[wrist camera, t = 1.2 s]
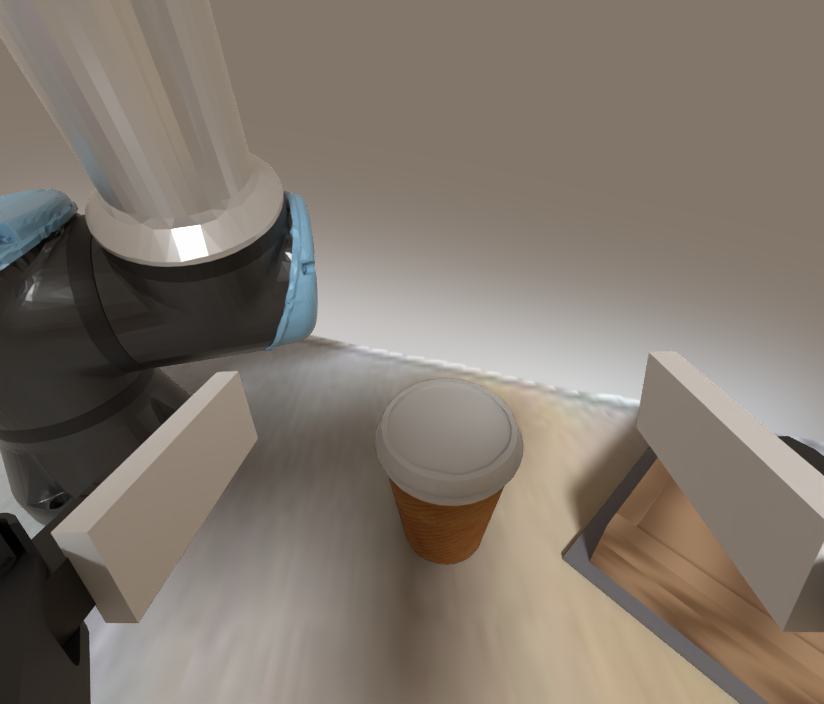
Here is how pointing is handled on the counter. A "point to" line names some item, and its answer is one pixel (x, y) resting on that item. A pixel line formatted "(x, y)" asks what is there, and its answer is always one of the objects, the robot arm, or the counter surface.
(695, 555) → the crate
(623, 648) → the counter surface
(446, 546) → the disposable coffee cup
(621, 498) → the mat
